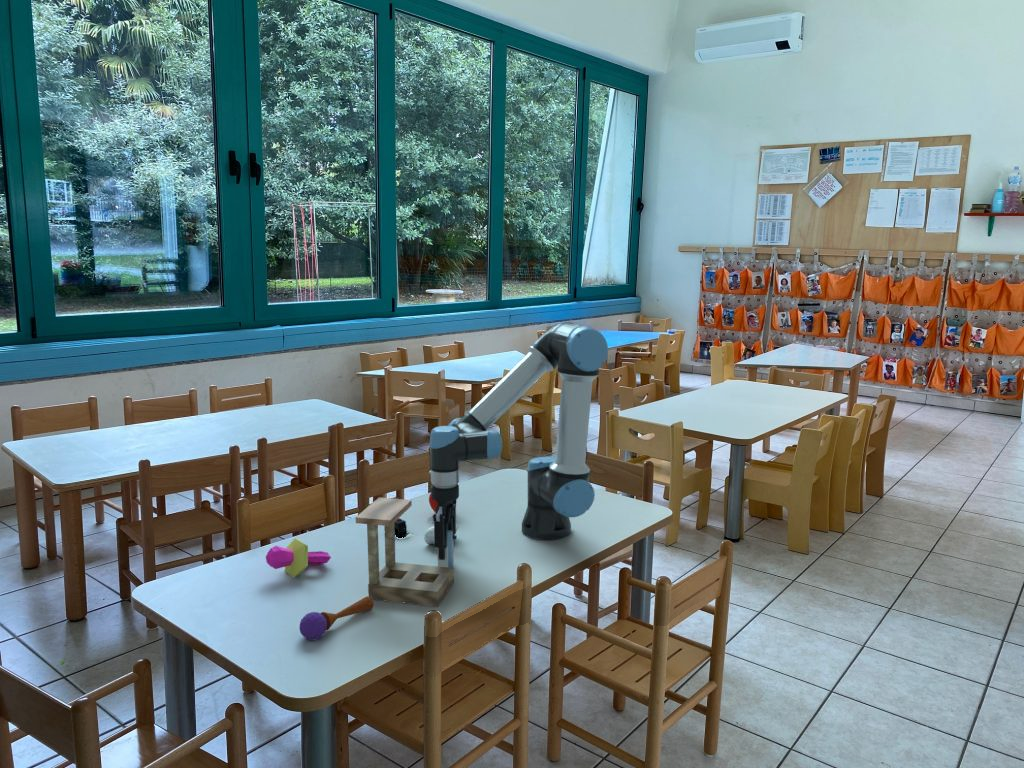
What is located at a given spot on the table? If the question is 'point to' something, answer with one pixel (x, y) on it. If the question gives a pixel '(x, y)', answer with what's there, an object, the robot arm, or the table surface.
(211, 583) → the table surface
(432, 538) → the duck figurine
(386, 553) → the awning
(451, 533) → the peg
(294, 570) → the toy
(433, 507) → the apple
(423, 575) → the socket board
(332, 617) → the kendama
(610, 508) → the table surface
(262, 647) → the table surface
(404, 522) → the black rounded block
